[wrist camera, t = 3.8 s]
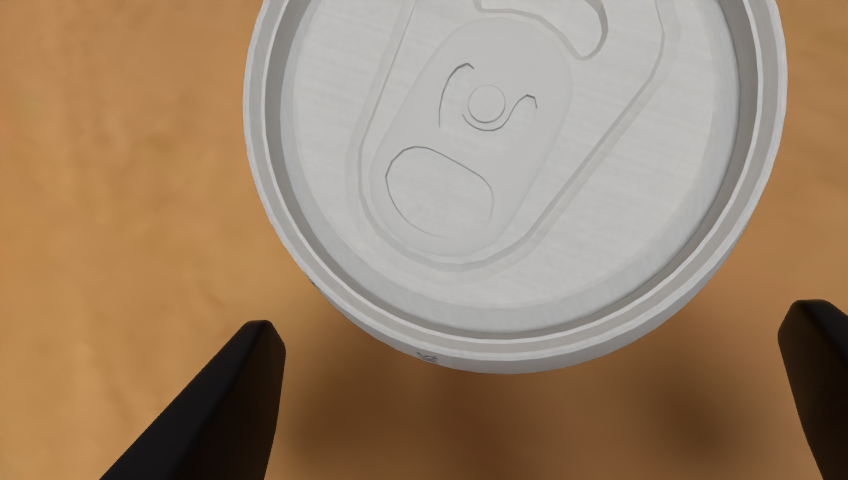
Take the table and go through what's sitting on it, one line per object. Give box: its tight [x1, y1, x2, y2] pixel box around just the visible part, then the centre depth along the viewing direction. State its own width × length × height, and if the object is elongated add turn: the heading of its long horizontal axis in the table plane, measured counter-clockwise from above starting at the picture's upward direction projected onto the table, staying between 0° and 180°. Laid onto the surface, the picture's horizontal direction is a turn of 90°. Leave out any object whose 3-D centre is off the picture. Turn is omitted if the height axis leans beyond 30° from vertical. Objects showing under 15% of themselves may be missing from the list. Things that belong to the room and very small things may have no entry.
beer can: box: [243, 0, 788, 374], centre depth 12 cm, size 6×6×15 cm
